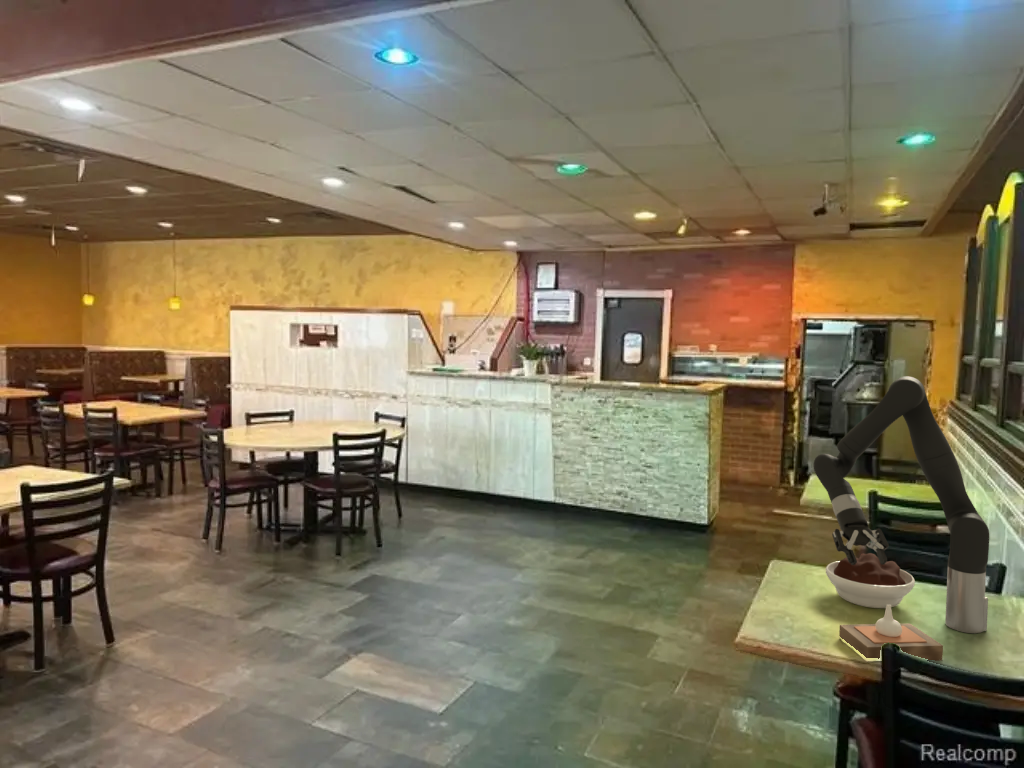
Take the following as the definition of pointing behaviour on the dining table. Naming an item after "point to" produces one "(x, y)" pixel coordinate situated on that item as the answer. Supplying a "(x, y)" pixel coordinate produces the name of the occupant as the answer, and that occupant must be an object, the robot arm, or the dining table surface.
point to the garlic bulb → (888, 624)
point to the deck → (872, 650)
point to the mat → (876, 637)
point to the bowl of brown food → (870, 581)
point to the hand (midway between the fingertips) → (869, 563)
